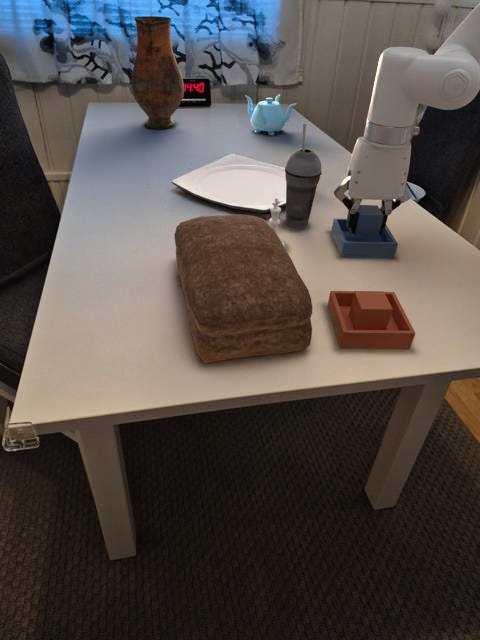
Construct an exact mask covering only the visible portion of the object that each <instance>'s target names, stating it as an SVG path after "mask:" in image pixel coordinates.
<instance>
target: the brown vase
mask: <svg viewBox="0 0 480 640" xmlns="http://www.w3.org/2000/svg"><path fill="white" fill-rule="evenodd" d="M134 21H135V26H136V37H137V43H136V44H137V45H136V47H137V48H136V55H135V59H134V62H133V68H132V73H131V90H132V93H133V98H134V100H135V101H136V103H137V105H138V106H139V108H140V109H141V110H142V111H143V112H144V114H145V115H146V116H147V118H148V119H146V120H145V122H144V124H145V126H146V127H147V128H150V129H154V130H155V129H156V130H162V129H169V128H173V127H175V125H176V122H175V120H173V118H172V116H173V115H174V113H175V112H176V111H177V110H178V108H179V107H180V105H181V102H182V100H183V98H184V94H185V82H184V78H183V74H182V71H181V69H180V66H179V65H178V62H177V59H176V57H175V54H174V51H173V43H172V35H171V23H172V18H171V17H169V16H158V15H157V16H155V15H152V16H151V15H146V16H145V15H144V16H143V15H142V16H141V15H140V16H135V17H134Z"/></svg>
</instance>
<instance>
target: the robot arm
mask: <svg viewBox="0 0 480 640" xmlns="http://www.w3.org/2000/svg"><path fill="white" fill-rule="evenodd" d="M478 93H480V2H479V3H478V4H476V6H475V7H474V8H473V9H472V10H471V11H470V12H469V13H468V14H467V16H466V17H465V18H464V19H463V20H462V21H461V22H460V23H459V24H458V26H457V27H456V28H455V29H454V30H453V32H452V33H451V34H450V35H449V36H448V37H447V39H446V40H445V41H444V42H443V43H442V45H440V47H438V48H437V50H436V52H434V54H429V53H428V51H426V50H425V49H421V48H418V47H417V48H416V47H410V46H391V47H387V48H386V49H384V50H383V51H382V53H381V54H380V56H379V60H378V64H377V69H376V74H375V77H374V83H373V88H372V94H371V98H370V102H369V109H368V113H367V117H366V122H365V127H364V131H363V136H359V137H358V138H357V139H356V142H355V145H354V148H353V150H352V153H351V157H350V160H349V163H348V166H347V170H346V174H345V178H344V180H343V181H342V182H341V183H340V184H339V185H338V187H337V188H335V190H333V195H334V197H335V198H336V199H337V200H338V201H339V202H341V203H342V204H343V205H344V206H345V208H346V209H347V210H348V212H347V216H346V219H347V220H346V226H347V227H348V229H349V231H350V233H353V234H354V233H355V229H356V224H357V220H358V213H357V211H358V208H359V206H360V205H362V202H363V200H370V201H371V200H373V201H378V200H379V201H380V202H381V203H380V206H381V207H379V209H380V210H381V212H382V213H383V215H384V217H383V221H382V224H381V228H380V232H379V234H381V233H382V229H383V228H385V225H387V221H388V217H389V216H390V215H391V214H392V213H393V211H394V210H396V209H397V208H399V207H400V206H401V205H402V204H404V203H407V202H408V201H410V200H411V199H412V194H411V191H410V189H409V187H408V185H407V180H408V175H409V170H410V163H411V155H412V143H411V139H412V137H413V136H419V134H420V126H416V125H415V124H414V122H415V118H416V114H417V111H418V108H419V104H420V105H424V106H428V107H431V108H435V109H438V110H445V111H451V110H452V111H453V110H458V109H461V108H463V107H465V106H467V105H468V104H469V103H471V102H472V101H473V100H474V99H475V98H476V97H477V95H478ZM347 191H348V195H346V194H345V193H346V192H347ZM349 197H350V198H349Z"/></svg>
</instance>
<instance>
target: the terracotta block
mask: <svg viewBox="0 0 480 640" xmlns="http://www.w3.org/2000/svg"><path fill="white" fill-rule="evenodd" d="M353 291H354V295H353V299H352V304H351V308H350V312H349V316H350V319H351V322H352V325H353V327H354V330H386V329H387V326H388V323H389V320H390V316H391V313H392V310H393V309H392V307H391V305H390V303H389V301H388V299H387V296H386V294H385V292H386V291H385V290H384V291H383V290H353Z"/></svg>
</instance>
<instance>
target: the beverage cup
mask: <svg viewBox="0 0 480 640" xmlns="http://www.w3.org/2000/svg"><path fill="white" fill-rule="evenodd" d="M306 129H307V124H306V123H303V124H302V141H301V143H302V145H301V148H300V149H297V150H295V152H293V153H292V154H291V155H290V156H289V157H288V160H287V161H286V165H285V167H284V168H285V172H286V173H285V177H286V205H285V225H286V227H287V228H289V229H291V230H294V231H302V230H305V229H307V228H308V224H309V221H310V217H311V213H312V209H313V205H314V200H315V196H316V192H317V188H318V184H319V182H320V180H321V176H322V174H323V172H322V171H323V170H322V162H321V159H320V157H319V156H318V154H317V153H316V152H315V151H313V150H311V149H308V148H306V132H307V131H306Z"/></svg>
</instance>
